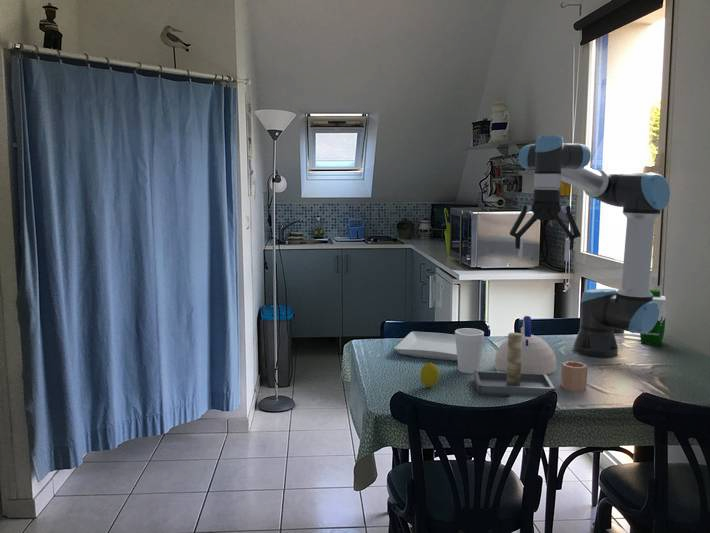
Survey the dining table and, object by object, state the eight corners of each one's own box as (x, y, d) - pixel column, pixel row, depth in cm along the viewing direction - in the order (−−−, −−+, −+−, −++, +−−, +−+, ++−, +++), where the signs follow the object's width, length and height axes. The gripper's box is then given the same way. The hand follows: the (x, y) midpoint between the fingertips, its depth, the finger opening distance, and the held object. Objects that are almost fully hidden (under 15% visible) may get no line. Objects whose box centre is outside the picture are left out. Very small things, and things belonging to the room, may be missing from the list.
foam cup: (482, 375, 205) (483, 336, 204) (453, 373, 207) (454, 334, 205) (482, 366, 215) (484, 329, 213) (454, 365, 216) (455, 327, 215)
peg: (518, 383, 195) (521, 332, 192) (521, 388, 191) (523, 336, 188) (505, 383, 195) (507, 332, 192) (507, 387, 191) (509, 336, 188)
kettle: (554, 362, 221) (557, 311, 218) (559, 381, 201) (562, 325, 198) (494, 358, 225) (496, 307, 223) (493, 376, 205) (495, 321, 203)
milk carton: (662, 340, 250) (666, 290, 247) (663, 346, 241) (668, 294, 238) (638, 338, 253) (641, 288, 250) (638, 344, 245) (642, 292, 242)
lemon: (418, 385, 196) (419, 359, 195) (436, 384, 197) (437, 359, 195) (422, 391, 191) (422, 365, 189) (440, 390, 191) (441, 364, 190)
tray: (545, 382, 199) (545, 373, 198) (554, 398, 185) (555, 388, 185) (473, 380, 201) (474, 370, 201) (477, 395, 187) (478, 385, 187)
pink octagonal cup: (582, 386, 195) (583, 361, 194) (587, 394, 189) (589, 368, 187) (558, 386, 196) (560, 360, 195) (563, 393, 189) (565, 367, 188)
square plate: (470, 366, 216) (470, 355, 216) (392, 358, 225) (392, 347, 225) (481, 346, 242) (482, 336, 241) (411, 339, 251) (411, 329, 250)
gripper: (587, 188, 191) (582, 259, 194) (502, 188, 193) (499, 257, 196) (594, 189, 183) (589, 262, 187) (505, 188, 186) (502, 261, 189)
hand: (543, 260), depth 191 cm, fingers open, 13 cm apart
